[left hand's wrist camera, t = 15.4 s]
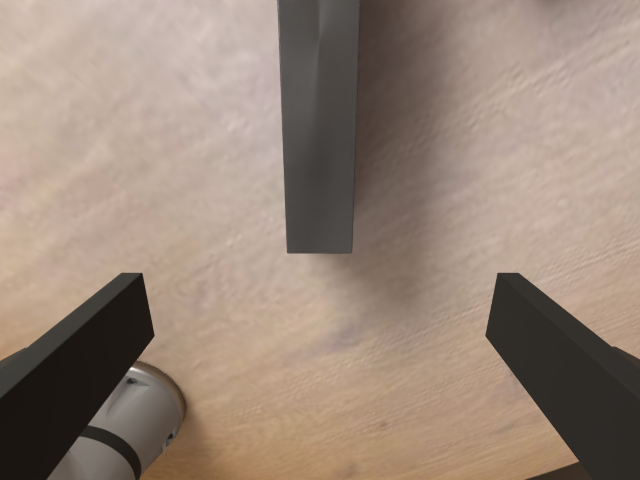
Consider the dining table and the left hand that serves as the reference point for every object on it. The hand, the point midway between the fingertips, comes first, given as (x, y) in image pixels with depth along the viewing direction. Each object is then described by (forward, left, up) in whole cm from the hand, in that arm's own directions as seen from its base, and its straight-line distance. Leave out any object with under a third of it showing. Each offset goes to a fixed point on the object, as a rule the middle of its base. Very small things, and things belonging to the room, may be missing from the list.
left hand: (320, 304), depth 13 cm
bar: (+4, +11, -25) cm, 28 cm away
